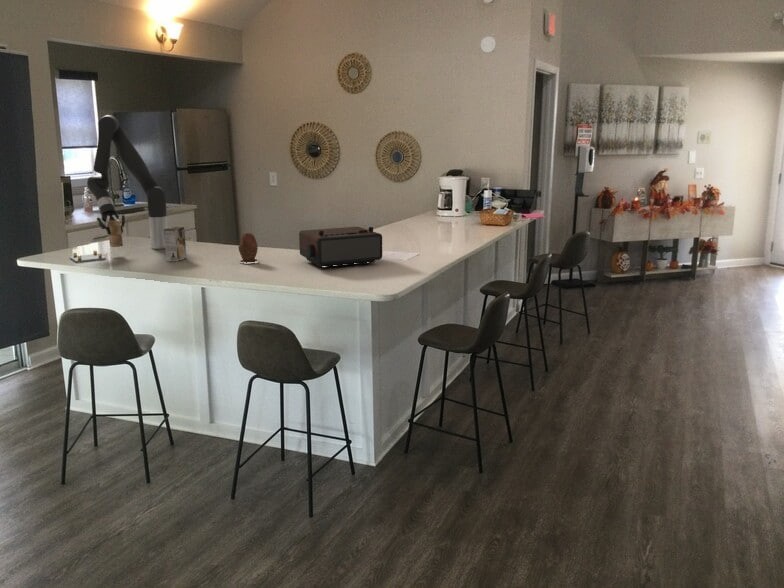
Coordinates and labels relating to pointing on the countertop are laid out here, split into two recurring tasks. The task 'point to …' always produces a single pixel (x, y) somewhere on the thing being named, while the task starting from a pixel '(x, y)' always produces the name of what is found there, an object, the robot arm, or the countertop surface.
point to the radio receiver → (340, 246)
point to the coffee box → (175, 243)
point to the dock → (87, 257)
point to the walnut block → (115, 233)
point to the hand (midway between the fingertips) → (115, 233)
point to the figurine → (248, 248)
